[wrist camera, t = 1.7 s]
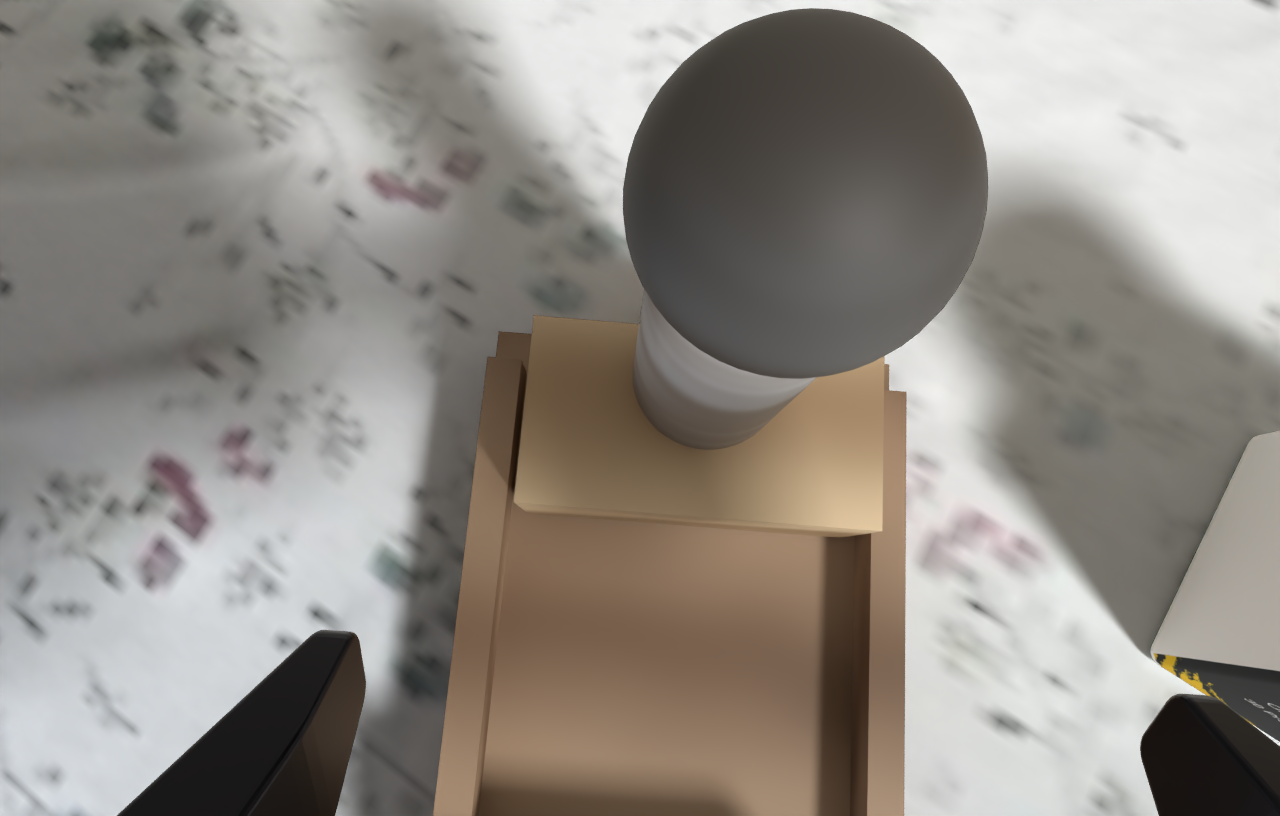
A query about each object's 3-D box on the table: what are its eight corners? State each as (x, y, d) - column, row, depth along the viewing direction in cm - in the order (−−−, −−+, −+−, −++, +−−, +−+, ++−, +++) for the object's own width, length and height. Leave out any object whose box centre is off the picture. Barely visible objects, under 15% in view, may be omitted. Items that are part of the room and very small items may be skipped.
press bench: (859, 1042, 19) (964, 1233, 13) (429, 1016, 18) (356, 1201, 13) (870, 378, 22) (956, 314, 16) (505, 347, 22) (473, 272, 16)
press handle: (839, 537, 19) (1295, 467, 7) (527, 513, 19) (376, 391, 6) (844, 340, 20) (1244, -47, 8) (548, 315, 20) (453, -127, 7)
